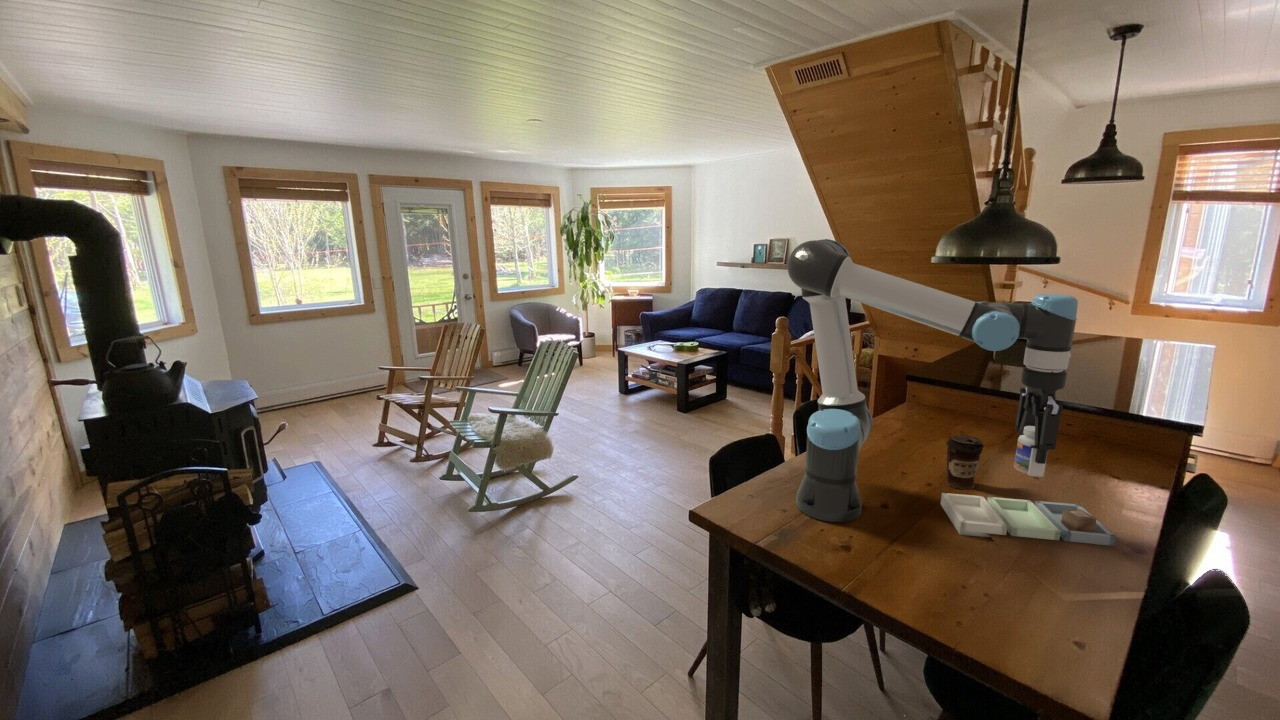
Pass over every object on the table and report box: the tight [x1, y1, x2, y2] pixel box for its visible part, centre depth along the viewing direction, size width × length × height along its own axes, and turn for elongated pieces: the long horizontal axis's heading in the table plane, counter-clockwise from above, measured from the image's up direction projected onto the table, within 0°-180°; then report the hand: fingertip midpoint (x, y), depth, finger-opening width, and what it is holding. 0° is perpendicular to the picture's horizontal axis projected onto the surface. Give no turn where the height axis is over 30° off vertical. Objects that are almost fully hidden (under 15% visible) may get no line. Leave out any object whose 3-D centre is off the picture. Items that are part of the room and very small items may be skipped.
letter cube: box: [1061, 509, 1098, 533], centre depth 116 cm, size 4×4×4 cm
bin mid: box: [986, 496, 1061, 541], centre depth 120 cm, size 9×14×3 cm, turn 166°
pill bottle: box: [1013, 426, 1035, 475], centre depth 116 cm, size 5×5×10 cm
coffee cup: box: [945, 434, 985, 490], centre depth 139 cm, size 9×8×13 cm
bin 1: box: [940, 492, 1008, 538], centre depth 123 cm, size 9×14×3 cm, turn 166°
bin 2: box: [1034, 500, 1117, 547], centre depth 118 cm, size 9×14×3 cm, turn 166°
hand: (1029, 469), depth 117 cm, fingers closed on pill bottle, 5 cm apart
